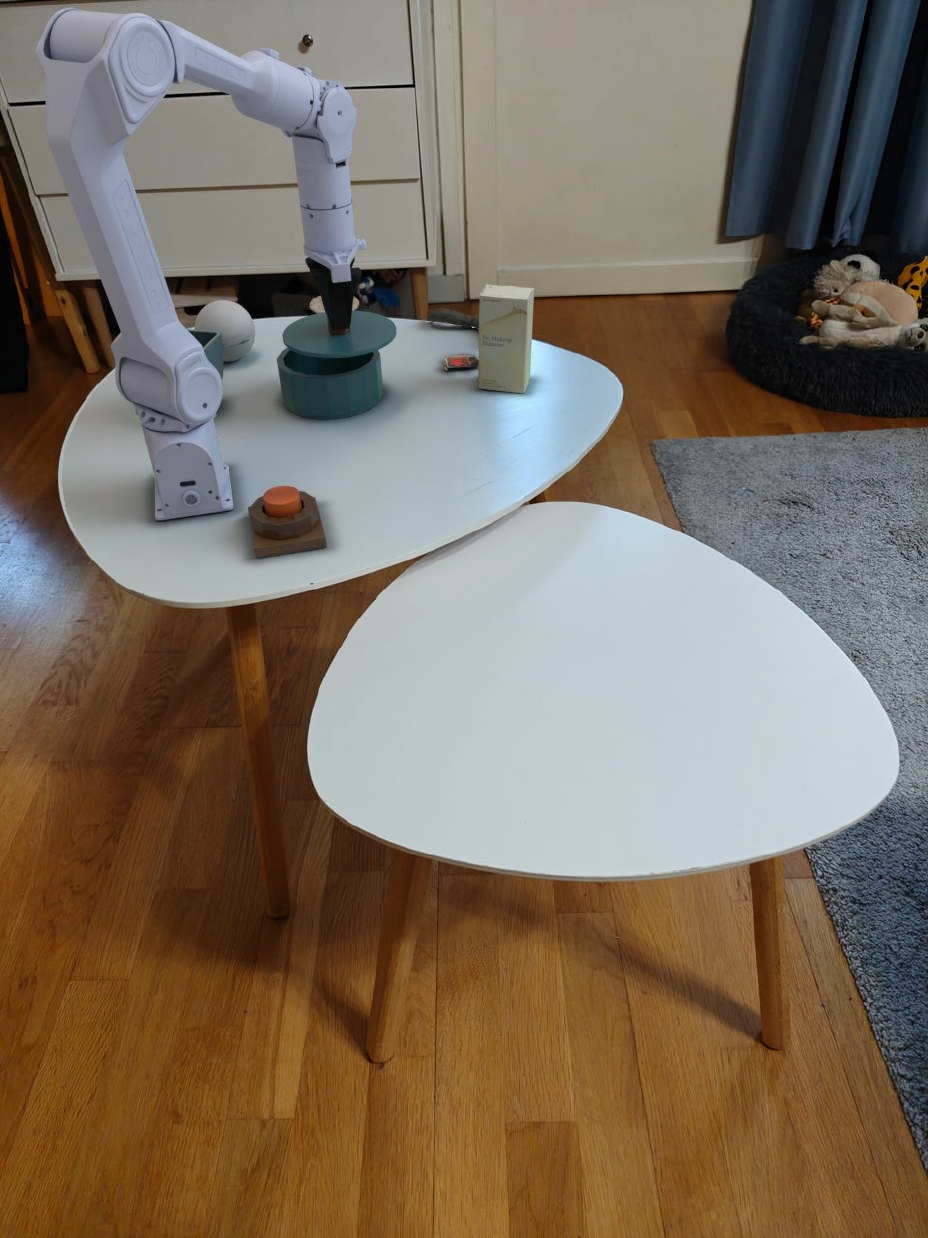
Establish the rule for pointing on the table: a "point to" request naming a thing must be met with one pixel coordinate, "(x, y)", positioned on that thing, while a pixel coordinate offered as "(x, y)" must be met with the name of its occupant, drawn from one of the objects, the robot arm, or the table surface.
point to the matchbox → (461, 361)
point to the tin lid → (339, 335)
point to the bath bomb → (228, 327)
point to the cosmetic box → (505, 337)
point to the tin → (330, 384)
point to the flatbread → (318, 306)
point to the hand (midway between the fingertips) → (338, 323)
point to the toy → (454, 317)
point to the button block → (286, 529)
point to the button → (282, 501)
